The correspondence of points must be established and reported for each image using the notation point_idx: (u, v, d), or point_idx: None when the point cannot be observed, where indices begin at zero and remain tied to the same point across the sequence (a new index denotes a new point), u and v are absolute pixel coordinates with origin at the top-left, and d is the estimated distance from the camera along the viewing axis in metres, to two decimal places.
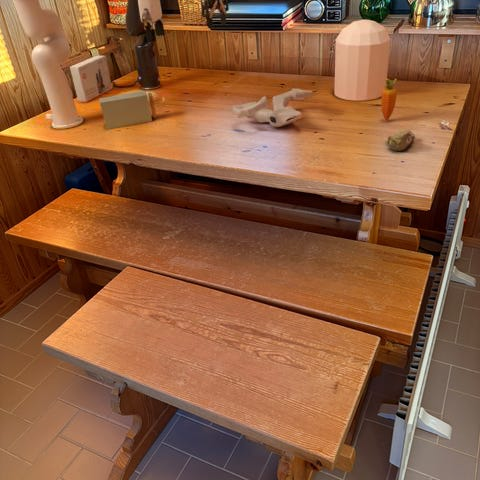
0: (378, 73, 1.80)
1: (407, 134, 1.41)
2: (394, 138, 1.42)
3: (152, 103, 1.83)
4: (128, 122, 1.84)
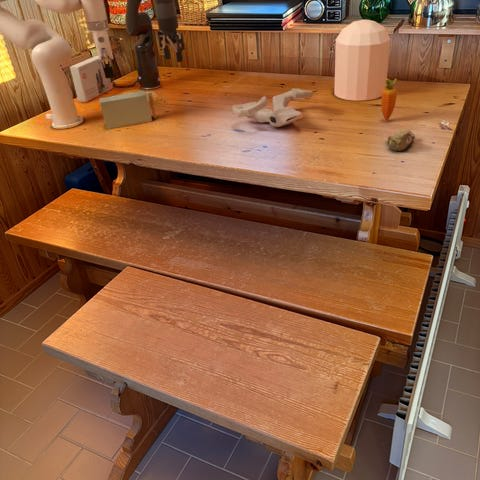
0: (378, 73, 1.80)
1: (407, 134, 1.41)
2: (394, 138, 1.42)
3: (152, 103, 1.83)
4: (128, 122, 1.84)
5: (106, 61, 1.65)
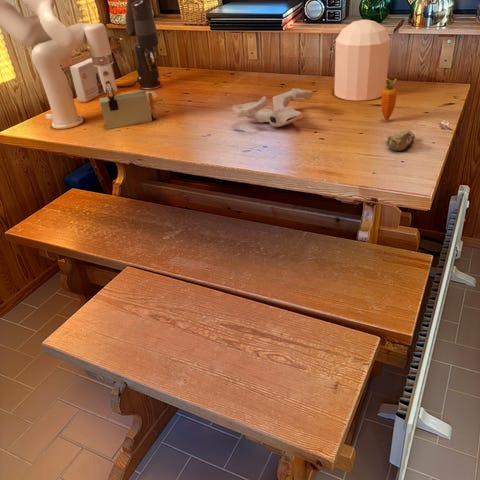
0: (378, 73, 1.80)
1: (407, 134, 1.41)
2: (394, 138, 1.42)
3: (152, 103, 1.83)
4: (128, 122, 1.84)
5: (111, 96, 1.73)
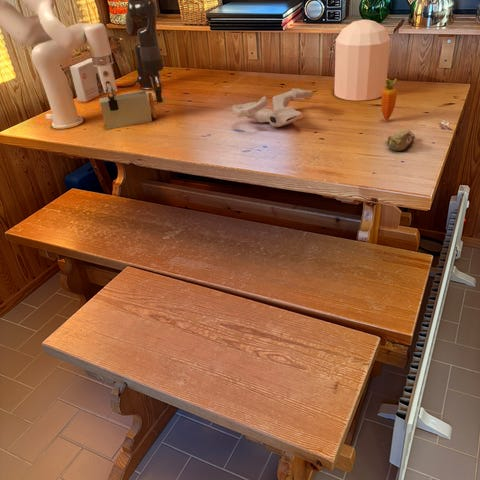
0: (378, 73, 1.80)
1: (407, 134, 1.41)
2: (394, 138, 1.42)
3: (152, 103, 1.83)
4: (128, 122, 1.84)
5: (111, 96, 1.73)
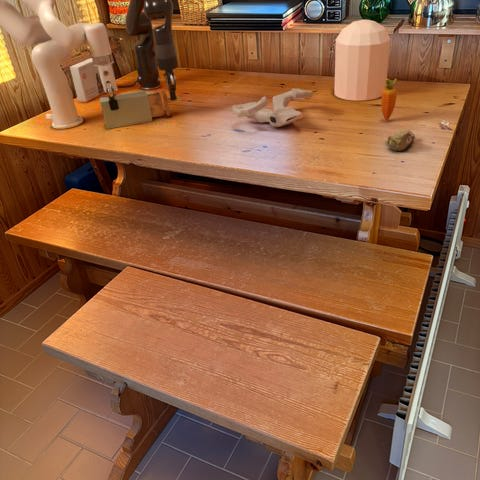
0: (378, 73, 1.80)
1: (407, 134, 1.41)
2: (394, 138, 1.42)
3: (166, 101, 1.84)
4: (128, 122, 1.84)
5: (111, 96, 1.73)
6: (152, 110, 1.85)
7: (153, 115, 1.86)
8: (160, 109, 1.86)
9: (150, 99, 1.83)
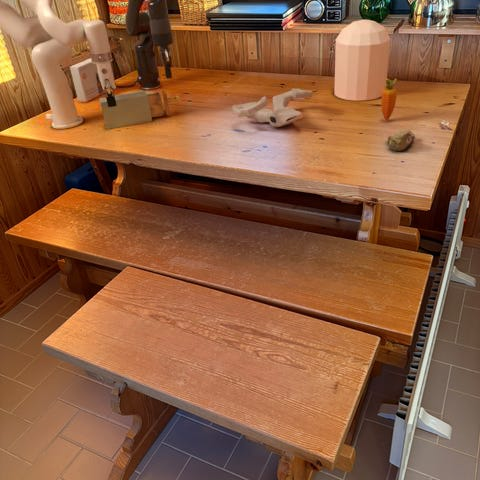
0: (378, 73, 1.80)
1: (407, 134, 1.41)
2: (394, 138, 1.42)
3: (166, 101, 1.84)
4: (128, 122, 1.84)
5: (109, 91, 1.71)
6: (152, 110, 1.85)
7: (153, 115, 1.86)
8: (160, 109, 1.86)
9: (150, 99, 1.83)
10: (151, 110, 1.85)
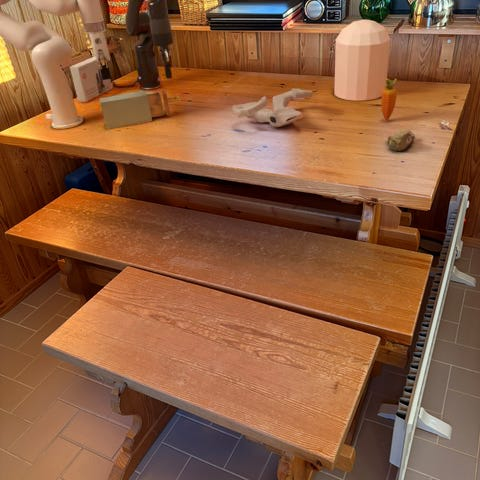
0: (378, 73, 1.80)
1: (407, 134, 1.41)
2: (394, 138, 1.42)
3: (166, 101, 1.84)
4: (128, 122, 1.84)
5: (103, 62, 1.65)
6: (152, 110, 1.85)
7: (153, 115, 1.86)
8: (160, 109, 1.86)
9: (150, 99, 1.83)
10: (151, 110, 1.85)
